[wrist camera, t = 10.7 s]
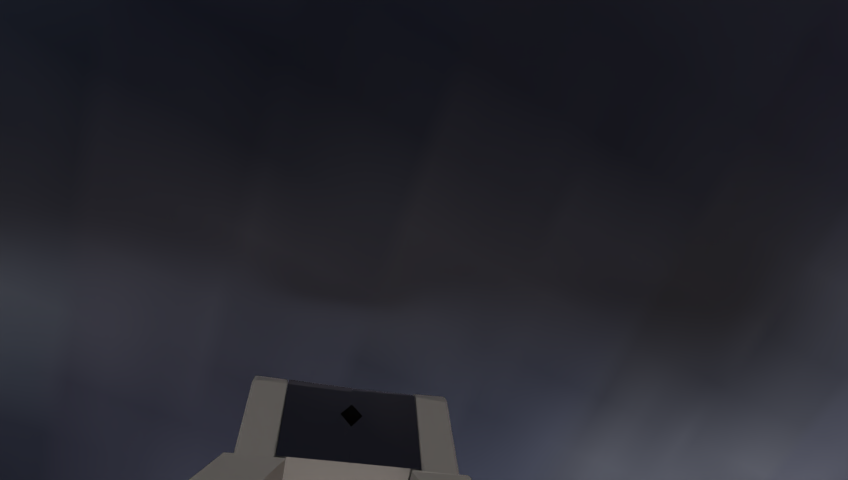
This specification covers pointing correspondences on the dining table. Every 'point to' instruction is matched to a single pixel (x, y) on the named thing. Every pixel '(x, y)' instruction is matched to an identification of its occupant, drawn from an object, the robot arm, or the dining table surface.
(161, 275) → the dining table surface
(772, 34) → the dining table surface
